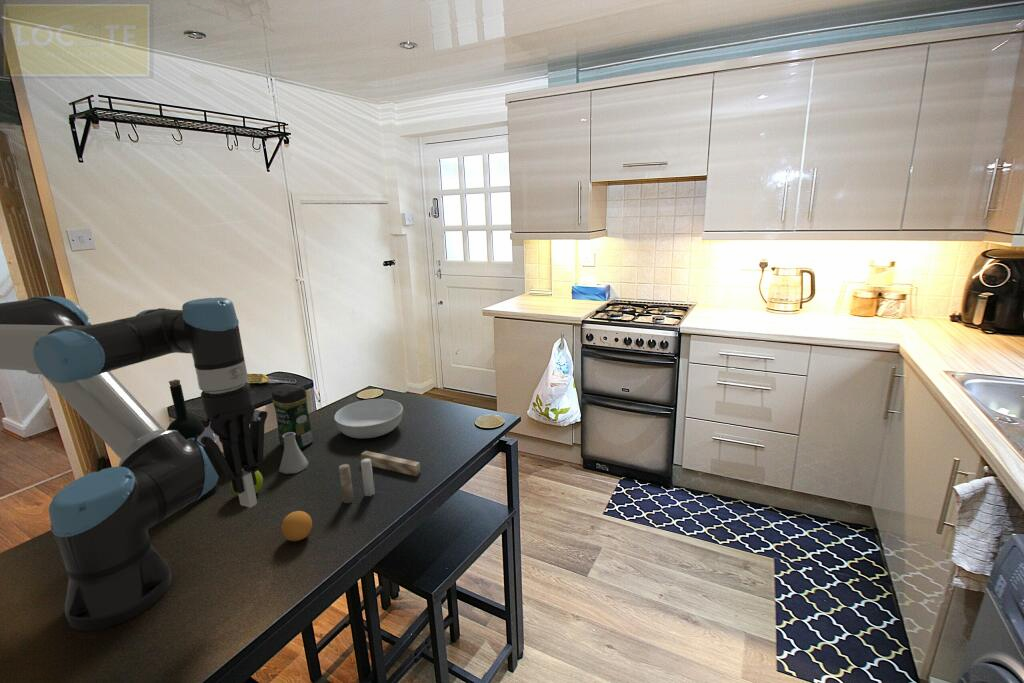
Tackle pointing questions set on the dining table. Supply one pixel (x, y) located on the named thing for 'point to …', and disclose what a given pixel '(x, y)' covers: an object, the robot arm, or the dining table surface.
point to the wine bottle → (186, 423)
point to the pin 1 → (346, 483)
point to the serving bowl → (369, 418)
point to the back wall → (392, 463)
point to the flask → (292, 456)
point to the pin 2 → (367, 477)
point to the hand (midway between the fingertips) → (248, 504)
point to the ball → (296, 526)
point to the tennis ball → (258, 483)
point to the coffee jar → (292, 413)
